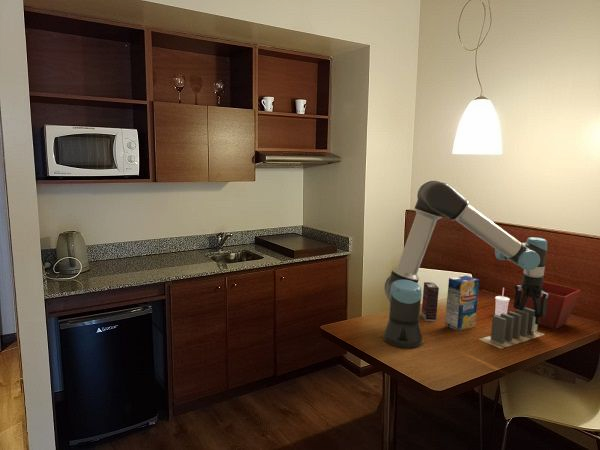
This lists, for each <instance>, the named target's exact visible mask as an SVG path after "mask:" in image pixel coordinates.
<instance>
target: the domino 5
mask: <svg viewBox="0 0 600 450" xmlns="http://www.w3.org/2000/svg"><path fill="white" fill-rule="evenodd" d="M522 311H524V312H527V313H529V320H528V329H527V333H529V334H534V332H532V322H533V316H535V311H534V310H532V309H529V308H526V307H524V308H523V310H522Z"/></svg>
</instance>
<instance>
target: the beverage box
mask: <svg viewBox="0 0 600 450" xmlns="http://www.w3.org/2000/svg"><path fill="white" fill-rule="evenodd" d="M479 288H480V278H479V279H478V278H476V277H472V276H468V275H463V276H455V277H449V278H448V284H447V295H446V296H447V298H446V308H445V310H446V311H445V318H444V328H451V329H453V330H455V331H461V330H467V329H471V328H474V327H476V320H477V310H478V309H477V308H478V299H479Z"/></svg>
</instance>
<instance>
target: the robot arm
mask: <svg viewBox="0 0 600 450" xmlns="http://www.w3.org/2000/svg"><path fill="white" fill-rule="evenodd" d="M414 211H415V213H416V214H415V216H414V220H413V222H412V225H411V229H410V231H409V233H408V236H407V240H406V242H405V244H404V247H403V251H402V253H401V256H400V258H399V260H398V264H397V266H396V267H394V268H392V269H391V272H390V275H389V276H388V277H387V278H386V281H385V282H384V293H385V296H386V297H387V300H388V301H389V315H388V322H387V324H386V325H385V326H386V327H385V330H384V331H383V337H382V338H383V341H384V342H385V343H387V344H389V345H391V346H393V347H396V348H402V349H403V348H404V349H412V348H413V349H414V348H418V347H420V346H422V345H423V334H422V332H421V327H420V315H421V313H420V312H421V301H422V297H423V292H422V287H421V285H420V284H419V280H420V277H419V275H418V272H419V269H420V267H421V264H422V262H423V259H424V256H425V253H426V251H427V248H428V246H429V243H430V241H431V237H432V235H433V232H434V230H435V227H436V224H437V221H438V220H440V219H442V218H443V216H444V217H446V218H448V219H449V220H450V221H452V222H453V221H456V222H457V223H458V224H460V225H461V226H463V227H464V228H465V229H467V230H468V231H470V232H471V233H473V234H474V235H475V236H477V237H478V238H480V239H481V240H483V241H484V242H485V243H486V244H488V245H489V246H490V247H491V248H494V254H495V258H496V259H497V260H499V261H500V260H502V261H509V262H511V263H513V264H515V265H516V266H518V267H520V268H521V269H523V275H522V284H521V286H520V285H519V284H518V285H515V286H514V289H515V293H514V300H513V308H514V309H515V310H517V309H518V310H521V311H522V310H523V308H524V306H525V304H526V302H527V299H528V297H529V296H530V297H531V298H532V300H533V304H534V311H535V316H533V322H532V332H534V331H537V332H538V326H539V325H540V318H541V317H543V316H546V309H547V298H548V297H549V293H545V292H543V289H542V285H543V281H544V275H545V269H546V259H547V252H548V241H547V240H546V239H545V238H542V237H532V236H531V237H527V239H526V242H525V241H524V242H521V241H519V240H518V239H517V238H515V237H514V236H513V235H512V234H510V233H509V232H507V231H506V230H504V229H503V228H502V227H500V226H499V225H498V224H496V223H495V222H494V221H493V220H491V219H489V218H488V217H486V216H485V214H483V213H481V212H480V211H479V210H477V209H475V208H474V207H473V206H472V205H471V204H469V200H468V199H466V198H465V197H464V196H463V195H461V194H460V193H459V192H458V191H457V190H456V189H454V188H453V187H452V186H451V185H450V184H448V183H445V182H442V181H441V182H440V181H438V180H430V181H426V182H424V183H423V184H422V185H421V186H419V188H418V191H417V200H416V203H415V205H414ZM522 290H523V292H524V293H523V295H522V299H521V292H522ZM540 294H541V297H542V298H541V306H540V302H539V299H540V297H539V295H540ZM520 299H521V300H520Z"/></svg>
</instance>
